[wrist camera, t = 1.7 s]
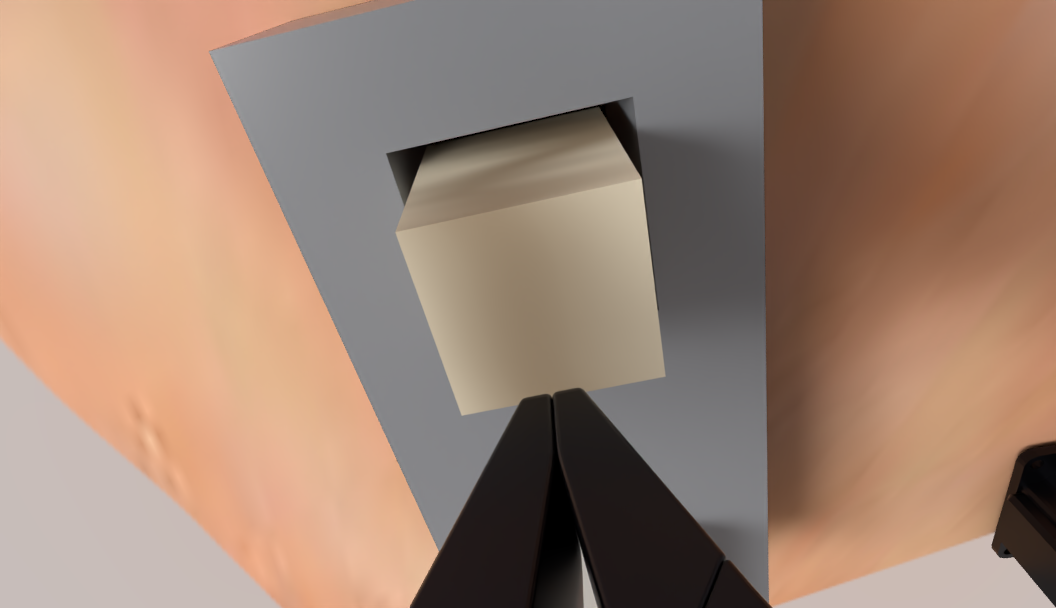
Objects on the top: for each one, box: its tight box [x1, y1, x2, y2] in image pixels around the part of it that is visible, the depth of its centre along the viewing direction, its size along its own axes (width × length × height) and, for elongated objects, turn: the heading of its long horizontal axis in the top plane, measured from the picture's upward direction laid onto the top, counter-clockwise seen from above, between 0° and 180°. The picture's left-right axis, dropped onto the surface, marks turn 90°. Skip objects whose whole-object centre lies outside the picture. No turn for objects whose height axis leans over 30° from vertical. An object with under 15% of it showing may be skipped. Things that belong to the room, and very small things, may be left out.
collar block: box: [209, 0, 769, 603], centre depth 18 cm, size 10×22×5 cm, turn 12°
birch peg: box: [395, 107, 666, 416], centre depth 13 cm, size 4×4×5 cm
